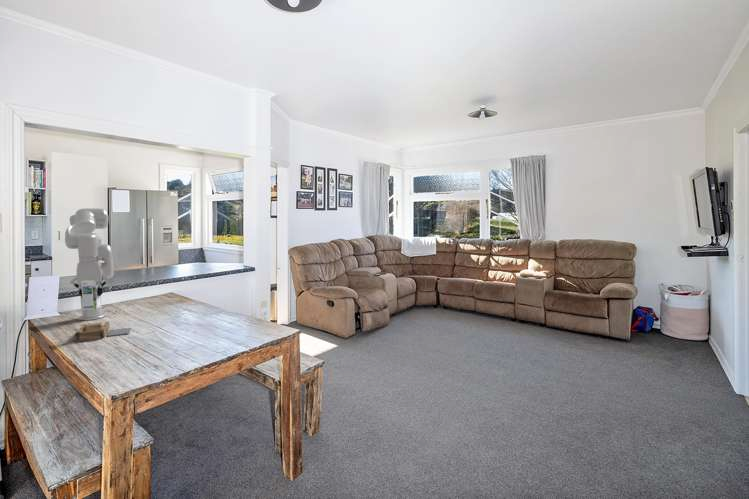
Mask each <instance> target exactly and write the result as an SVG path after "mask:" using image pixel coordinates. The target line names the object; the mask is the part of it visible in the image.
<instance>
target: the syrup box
mask: <svg viewBox="0 0 749 499" xmlns="http://www.w3.org/2000/svg"><path fill="white" fill-rule="evenodd" d="M81 287H82V299H83V310H87V309H97V308H99V307H101V303H102V299H101V300H100V296H98V288H99V286H98V285H97V283H96V282H95V280H85V281H82V282H81Z"/></svg>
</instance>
